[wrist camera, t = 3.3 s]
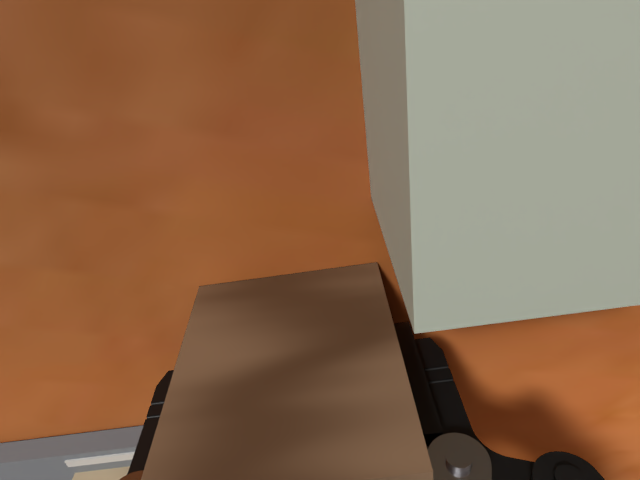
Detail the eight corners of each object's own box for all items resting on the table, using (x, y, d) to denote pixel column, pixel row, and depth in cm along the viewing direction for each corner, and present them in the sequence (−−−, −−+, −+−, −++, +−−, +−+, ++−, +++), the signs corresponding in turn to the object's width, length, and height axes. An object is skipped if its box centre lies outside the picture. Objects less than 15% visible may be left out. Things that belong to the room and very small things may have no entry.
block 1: (376, 262, 12) (433, 471, 7) (387, 384, 15) (433, 601, 10) (199, 286, 13) (132, 507, 7) (239, 402, 15) (210, 624, 10)
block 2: (610, -72, 9) (911, -105, 4) (568, 168, 11) (733, 292, 7) (352, -31, 9) (402, -27, 5) (370, 196, 11) (414, 333, 7)
